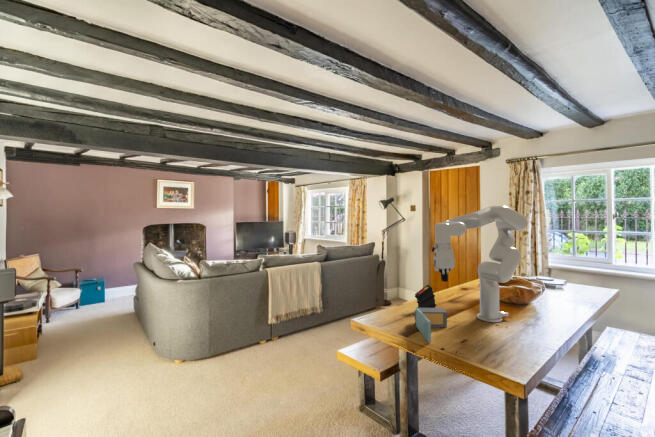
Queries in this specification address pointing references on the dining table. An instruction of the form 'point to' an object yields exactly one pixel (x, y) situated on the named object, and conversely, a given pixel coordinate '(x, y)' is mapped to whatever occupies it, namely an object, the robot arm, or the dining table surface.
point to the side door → (423, 325)
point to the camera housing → (435, 316)
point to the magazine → (425, 298)
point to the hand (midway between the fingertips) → (444, 281)
